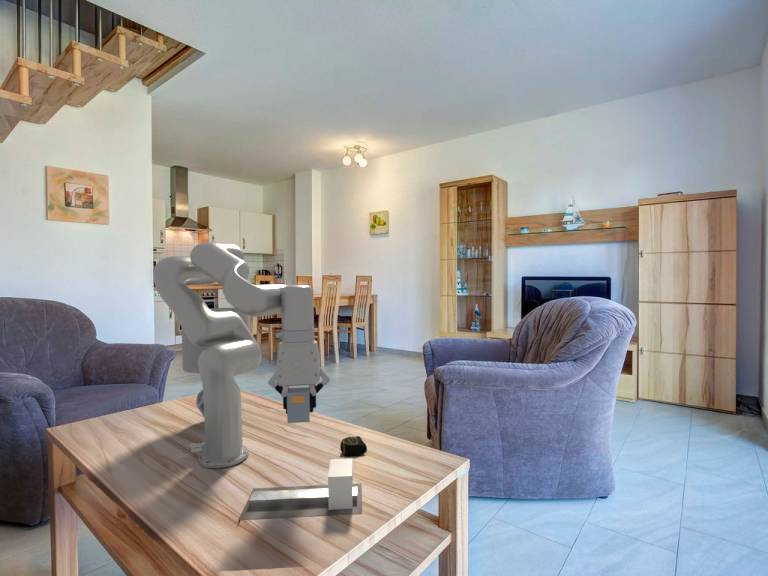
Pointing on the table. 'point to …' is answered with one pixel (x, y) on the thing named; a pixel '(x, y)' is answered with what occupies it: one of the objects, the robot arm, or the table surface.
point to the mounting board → (298, 506)
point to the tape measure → (353, 446)
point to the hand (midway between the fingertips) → (300, 410)
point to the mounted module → (340, 484)
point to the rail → (292, 497)
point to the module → (298, 404)
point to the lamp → (193, 352)
